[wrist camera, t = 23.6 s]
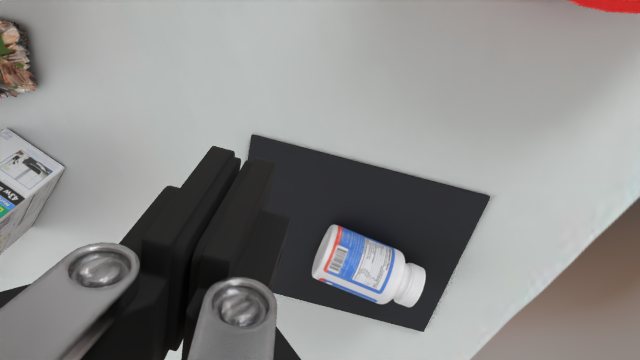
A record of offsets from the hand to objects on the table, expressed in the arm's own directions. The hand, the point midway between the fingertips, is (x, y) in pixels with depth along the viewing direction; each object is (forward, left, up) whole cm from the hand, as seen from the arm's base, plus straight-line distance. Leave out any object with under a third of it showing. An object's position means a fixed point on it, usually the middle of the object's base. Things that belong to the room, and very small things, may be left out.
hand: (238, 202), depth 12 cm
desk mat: (+6, -21, -27) cm, 35 cm away
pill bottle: (+4, -20, -24) cm, 32 cm away
